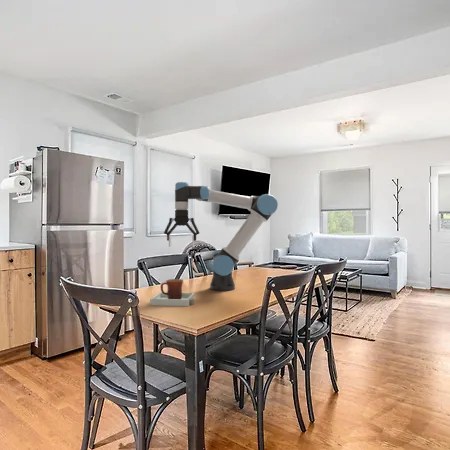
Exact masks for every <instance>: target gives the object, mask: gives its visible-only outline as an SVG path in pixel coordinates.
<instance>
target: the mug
mask: <svg viewBox="0 0 450 450" xmlns="http://www.w3.org/2000/svg"><path fill="white" fill-rule="evenodd" d="M183 283H184V280H183V279H182V278H181V279H179V278H171V279H170V278H169V279H167V280H165V282H162V283H161V284H160V292H162V293H163V294H165V295H167V298H168V299H182V293H183ZM165 285H166V286H167V291H164V286H165ZM165 292H167V293H165Z"/></svg>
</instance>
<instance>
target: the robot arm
mask: <svg viewBox="0 0 450 450" xmlns="http://www.w3.org/2000/svg"><path fill="white" fill-rule="evenodd" d="M189 200H197V201H199V202H206V203H214V204H219V205H224V206H230V207H235V208H239V209H247V210H248V212H250V214H249V215H248V217H247V218H246V219H245V221H244V222H243V223H242V225H241V226H240V227H239V229H238V231H236V233H235V234H234V236H233V238H232V239H231V240H230V242H229V243H228V244H227V245H226V247H222V248H221V250H215V251H213V253H212V277H211V278H212V279H211V280H210V281H211V282H210V285H209V287H210V290H213V291H221V292H222V291H223V292H224V291H232V290H235V288H236V286H235V285H236V284H235V281H234V278H233V270H234V267H235V266H236V265H237V263H238V262H239V260H240V258H239V257H240V255H241V253H242V252H243V250H244V249H245V248H246V246H247V245H248V244H249V242H250V241H251V240H252V238H253V236H254V235H255V234H256V232H258V229H259V228H260V226H262V225H263V223H266V222H268V221H269V219H270V218H271V216H272V215H273V214H275V213H276V211H277V209H278V205H279V203H278V200H277V198H276V197H275V196H274V195H272V194H268V193H265V194H261V195H251V196H248V195H240V194H236V193H232V192H231V193H229V192H224V191H218V190H214V189H210V187H209V186H206V185H189V183H188V182H183V181H179V182H176V183H175V188H174V209H175V211H174V218H173V217H169V219H168V223H167V225H166V227H165V230H164V232H163V234H164V235H166V240H167V241H168V247H170V248H171V247H172V232H173V231H174V230H175V229H176V228H177V227H179V226H180V227H181V226H186V227H187V228H188V229H189V231H190V232H191V233H192V236H191V238H192V242H191V243H192V245H191V246H192V247H195V242H196V241H197V235H199V234H200V231H199V229H198V227H197V224H196V222H195V218H194V217H191V218H189ZM189 221H190V223H191V224H192V226H193V227H192V226H191V225H190V224H189ZM174 222H175V223H174ZM172 223H174V224H173V225H172ZM171 226H172V227H171ZM170 227H171V228H170Z"/></svg>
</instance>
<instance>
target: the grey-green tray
mask: <svg viewBox="0 0 450 450" xmlns="http://www.w3.org/2000/svg"><path fill="white" fill-rule="evenodd" d="M164 292H165V293H167V291H164ZM194 304H195V292H182V299H168V298H167V295H165V294H163V293H162V292H161V291H159V292H158V293H156V294H155V295H154V296H152V297H150V300H149V306H161V307H162V306H164V307H165V306H166V307H168V306H169V307H189V306H193V305H194Z"/></svg>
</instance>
